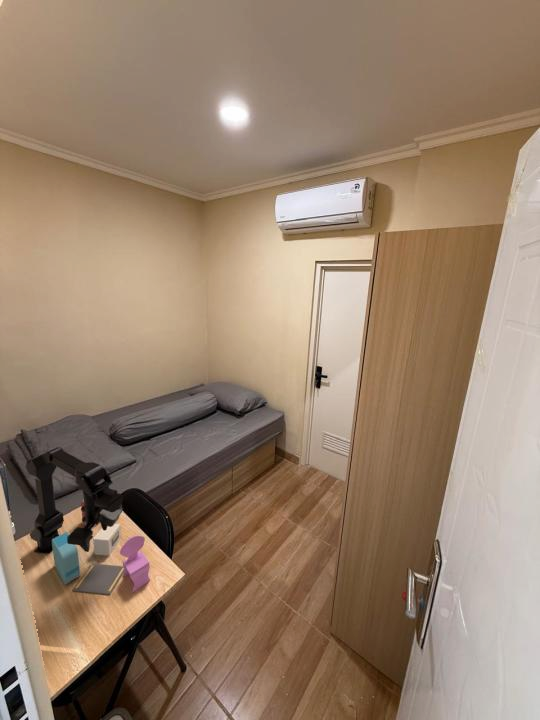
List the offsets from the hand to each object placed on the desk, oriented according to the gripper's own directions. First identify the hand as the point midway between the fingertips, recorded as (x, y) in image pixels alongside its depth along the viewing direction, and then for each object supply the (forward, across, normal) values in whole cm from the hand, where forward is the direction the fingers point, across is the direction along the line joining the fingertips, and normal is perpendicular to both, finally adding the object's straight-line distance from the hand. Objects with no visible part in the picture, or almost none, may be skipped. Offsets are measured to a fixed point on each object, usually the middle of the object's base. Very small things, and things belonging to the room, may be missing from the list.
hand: (96, 540), depth 100 cm
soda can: (+13, +20, +17) cm, 30 cm away
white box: (+13, +10, +3) cm, 16 cm away
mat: (+12, -3, -3) cm, 13 cm away
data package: (+13, -2, +10) cm, 17 cm away
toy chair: (+12, -2, -15) cm, 20 cm away
